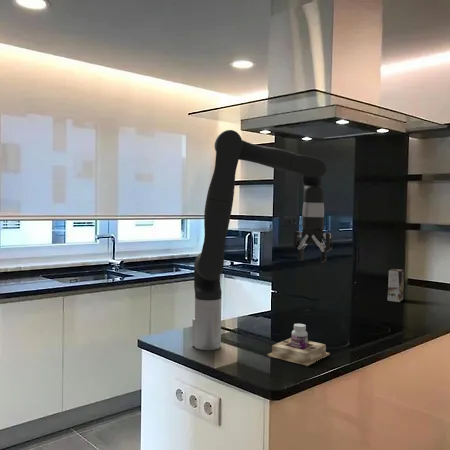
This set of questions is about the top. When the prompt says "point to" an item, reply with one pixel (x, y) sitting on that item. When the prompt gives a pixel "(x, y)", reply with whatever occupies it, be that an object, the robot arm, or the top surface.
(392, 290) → the coffee box
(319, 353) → the holder
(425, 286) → the top surface
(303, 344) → the pill bottle
